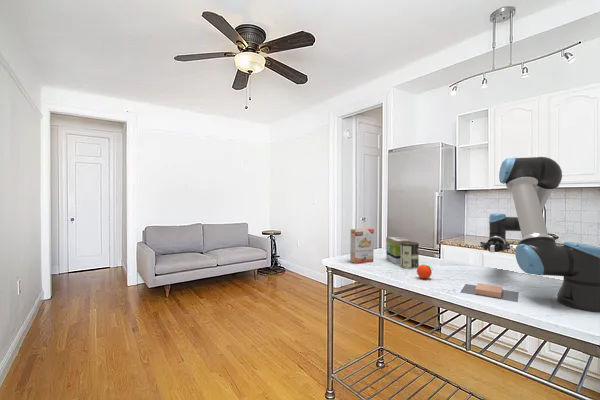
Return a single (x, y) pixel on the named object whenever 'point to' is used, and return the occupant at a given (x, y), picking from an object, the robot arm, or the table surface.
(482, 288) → the tile
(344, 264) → the table surface
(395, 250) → the tea box
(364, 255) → the cracker box
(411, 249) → the coffee can
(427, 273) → the clementine
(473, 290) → the mat
